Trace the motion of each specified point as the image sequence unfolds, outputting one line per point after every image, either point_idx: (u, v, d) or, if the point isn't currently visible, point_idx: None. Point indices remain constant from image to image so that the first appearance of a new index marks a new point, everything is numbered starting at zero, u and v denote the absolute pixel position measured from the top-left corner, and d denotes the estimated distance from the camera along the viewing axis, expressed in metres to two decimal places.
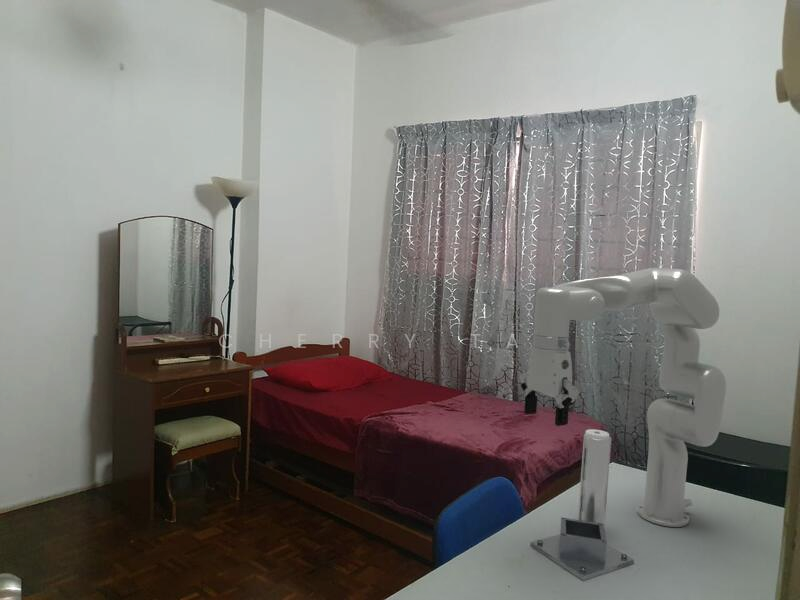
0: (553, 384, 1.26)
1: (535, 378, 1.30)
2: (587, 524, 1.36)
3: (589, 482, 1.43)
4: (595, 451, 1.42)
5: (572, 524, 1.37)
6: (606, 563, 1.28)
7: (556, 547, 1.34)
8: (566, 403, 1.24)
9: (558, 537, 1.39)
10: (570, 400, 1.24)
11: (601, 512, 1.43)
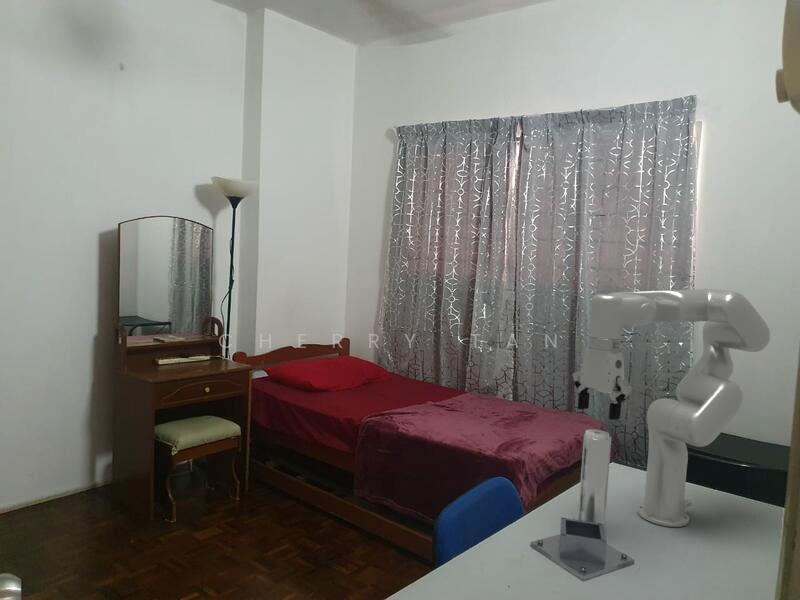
0: (607, 382, 1.39)
1: (589, 376, 1.43)
2: (587, 524, 1.36)
3: (589, 482, 1.43)
4: (595, 451, 1.42)
5: (572, 524, 1.37)
6: (606, 563, 1.28)
7: (556, 547, 1.34)
8: (620, 399, 1.38)
9: (558, 537, 1.39)
10: (624, 396, 1.37)
11: (601, 512, 1.43)
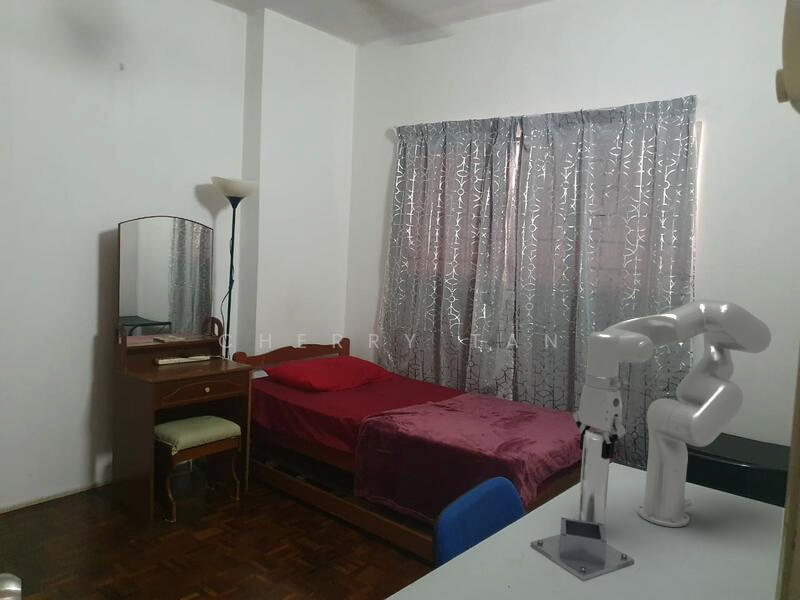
0: (605, 420, 1.40)
1: (587, 413, 1.44)
2: (587, 524, 1.36)
3: (589, 482, 1.43)
4: (595, 451, 1.42)
5: (572, 524, 1.37)
6: (606, 563, 1.28)
7: (556, 547, 1.34)
8: (613, 439, 1.40)
9: (558, 537, 1.39)
10: (617, 437, 1.39)
11: (601, 512, 1.43)
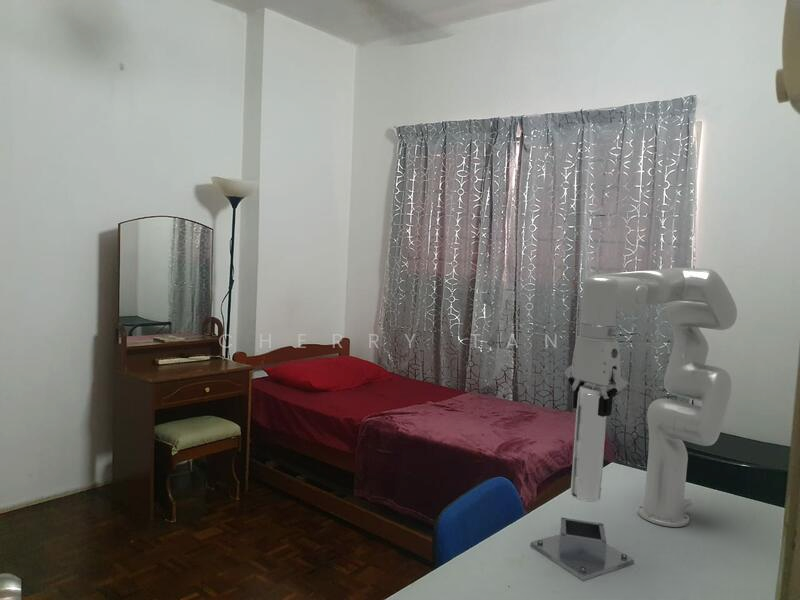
0: (603, 373, 1.26)
1: (582, 367, 1.30)
2: (587, 524, 1.36)
3: (584, 443, 1.29)
4: (591, 408, 1.28)
5: (572, 524, 1.37)
6: (606, 563, 1.28)
7: (556, 547, 1.34)
8: (611, 394, 1.26)
9: (558, 537, 1.39)
10: (615, 391, 1.25)
11: (597, 476, 1.29)
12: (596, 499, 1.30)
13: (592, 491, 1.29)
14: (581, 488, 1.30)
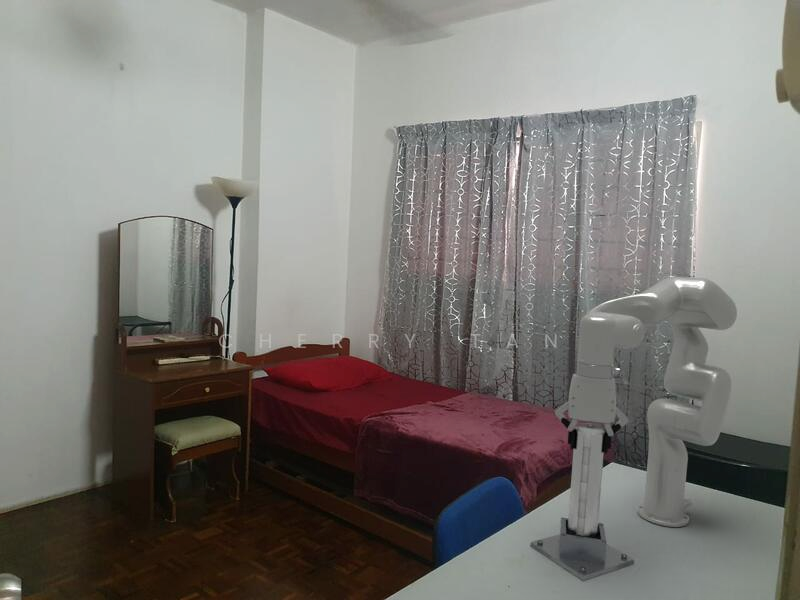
0: (610, 411, 1.28)
1: (585, 408, 1.29)
2: None
3: (592, 482, 1.29)
4: (598, 447, 1.28)
5: None
6: (606, 563, 1.28)
7: (556, 547, 1.34)
8: (616, 430, 1.29)
9: (558, 537, 1.39)
10: (620, 427, 1.29)
11: (598, 511, 1.31)
12: None
13: (597, 527, 1.31)
14: (589, 527, 1.30)
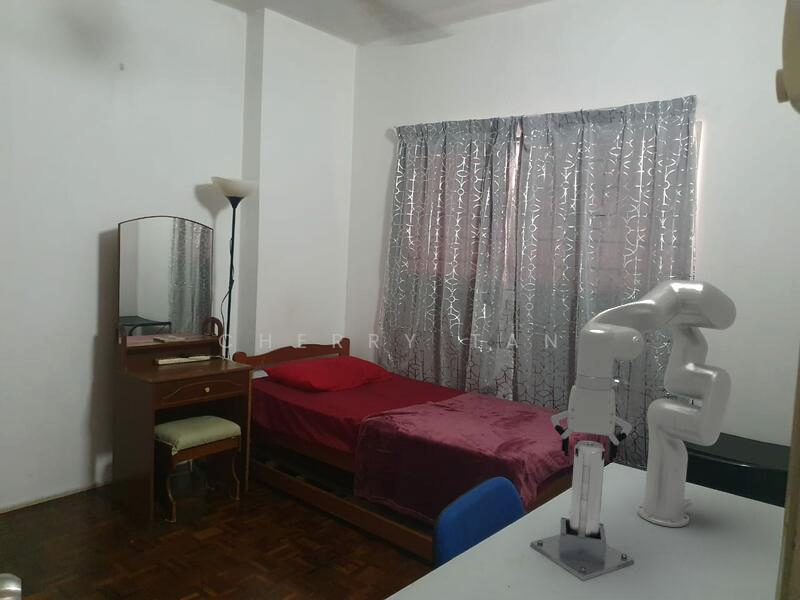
0: (610, 423, 1.28)
1: (584, 420, 1.29)
2: None
3: (592, 501, 1.29)
4: (598, 465, 1.29)
5: None
6: (606, 563, 1.28)
7: (556, 547, 1.34)
8: (621, 439, 1.29)
9: (558, 537, 1.39)
10: None
11: None
12: None
13: None
14: None
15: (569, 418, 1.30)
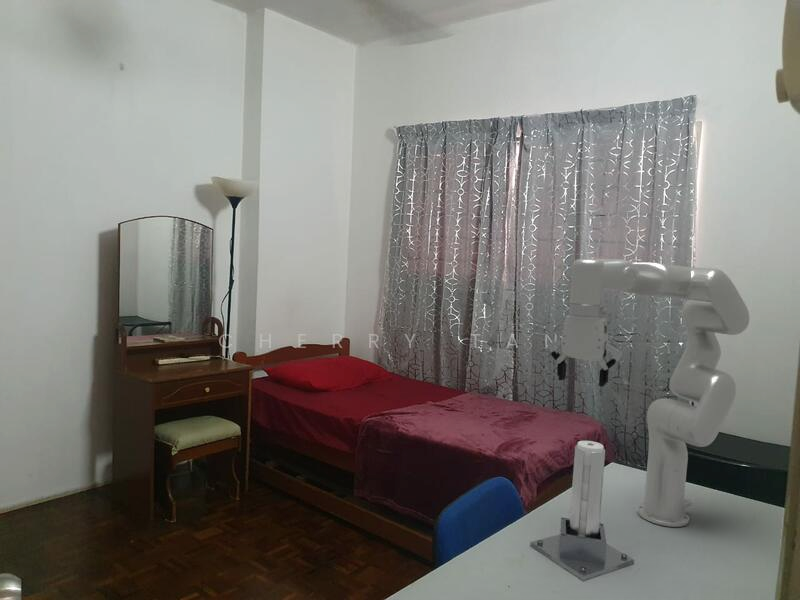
0: (597, 348, 1.35)
1: (574, 345, 1.38)
2: None
3: (592, 501, 1.29)
4: (598, 465, 1.29)
5: None
6: (606, 563, 1.28)
7: (556, 547, 1.34)
8: (610, 365, 1.35)
9: (558, 537, 1.39)
10: (615, 361, 1.35)
11: None
12: None
13: None
14: None
15: (562, 344, 1.40)
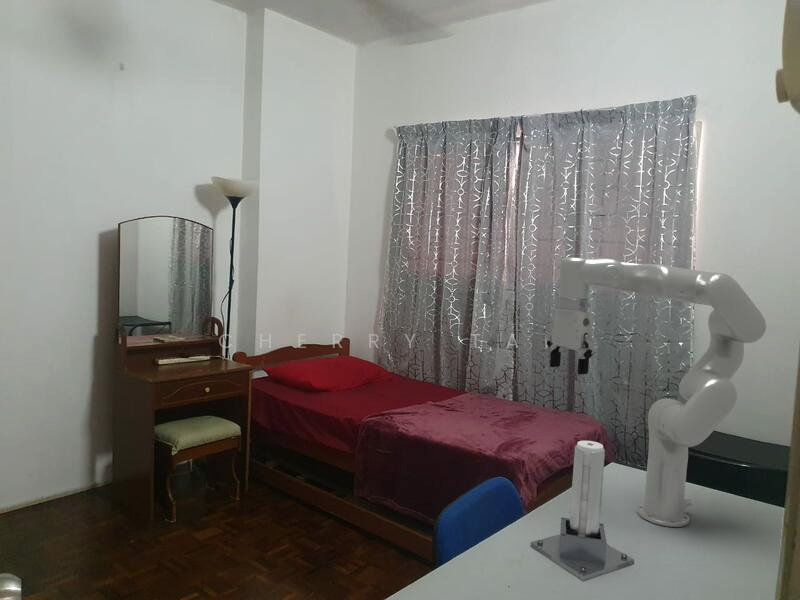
0: (576, 339, 1.48)
1: (560, 335, 1.52)
2: None
3: (592, 501, 1.29)
4: (598, 465, 1.29)
5: None
6: (606, 563, 1.28)
7: (556, 547, 1.34)
8: (587, 354, 1.46)
9: (558, 537, 1.39)
10: (590, 352, 1.46)
11: None
12: None
13: None
14: None
15: (552, 334, 1.55)
